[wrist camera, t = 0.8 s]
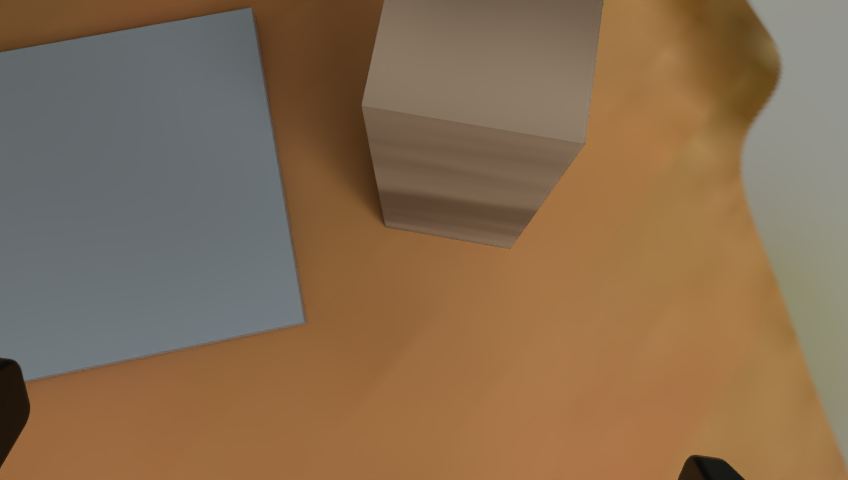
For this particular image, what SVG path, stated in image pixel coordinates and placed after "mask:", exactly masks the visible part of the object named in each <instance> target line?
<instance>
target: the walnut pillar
mask: <svg viewBox="0 0 848 480" xmlns="http://www.w3.org/2000/svg"><path fill="white" fill-rule="evenodd" d="M602 7H603V0H384V3H383V8H382V13H381V17H380V22H379V27H378V31H377V36H376V40H375V45H374V50H373V54H372V59H371V64H370V68H369V73H368V78H367V82H366V87H365V91H364V96H363V101H362V105H361V106H362V111H363V116H364V121H365V126H366V131H367V136H368V141H369V146H370V151H371V157H372V162H373V167H374V172H375V177H376V182H377V187H378V192H379V197H380V202H381V207H382V212H383V217H384V222H385V227H388V228H394V229H400V230H405V231H411V232H417V233H423V234H428V235H434V236H440V237H445V238H451V239H457V240H462V241H468V242H474V243H480V244H485V245H491V246H497V247H502V248H508V249H510V248H511V247H512V246H513V244H514V243H515V241H516V240H517V239H518V237H519V236H520V234H521V233H522V232H523V230H524V229H525V227H526V226H527V225H528V223H529V222H530V220H531V219H532V218H533V216H534V215H535V213H536V212H537V211H538V209H539V208H540V206H541V205H542V204H543V202H544V201H545V199H546V198H547V197H548V195H549V194H550V192H551V191H552V190H553V188H554V187H555V185H556V184H557V183H558V181H559V180H560V178H561V177H562V176H563V174H564V173H565V171H566V170H567V169H568V167H569V166H570V164H571V163H572V162H573V160H574V159H575V157H576V156H577V154H578V153H579V152H580V150H581V149H582V147H583V146H584V145H585V141H586V133H587V125H588V117H589V110H590V102H591V94H592V86H593V78H594V70H595V62H596V54H597V47H598V39H599V31H600V23H601V15H602Z"/></svg>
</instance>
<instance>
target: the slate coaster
mask: <svg viewBox="0 0 848 480" xmlns="http://www.w3.org/2000/svg"><path fill="white" fill-rule="evenodd" d="M303 324H307V319H306V314H305V308H304V302H303V296H302V290H301V284H300V278H299V272H298V266H297V260H296V255H295V249H294V243H293V237H292V231H291V225H290V219H289V213H288V207H287V201H286V196H285V190H284V184H283V178H282V172H281V166H280V160H279V154H278V148H277V142H276V137H275V131H274V125H273V119H272V113H271V107H270V101H269V95H268V89H267V83H266V78H265V72H264V66H263V60H262V54H261V48H260V42H259V36H258V30H257V25H256V19H255V15H254V13H253V11H252V8H245V9H240V10H234V11H229V12H223V13H217V14H212V15H206V16H201V17H195V18H189V19H184V20H178V21H173V22H167V23H161V24H156V25H150V26H145V27H139V28H133V29H128V30H122V31H117V32H111V33H105V34H100V35H94V36H89V37H83V38H78V39H72V40H66V41H61V42H55V43H50V44H44V45H38V46H33V47H27V48H22V49H16V50H10V51H5V52H0V357H1V358H8V359H13V360H15V361H17V363H18V364H19V365H20V367H21V369H22V374H23V378H24V382H25V383H26V382H31V381H35V380H40V379H45V378H50V377H54V376H59V375H64V374H69V373H74V372H78V371H83V370H88V369H93V368H97V367H102V366H107V365H112V364H117V363H121V362H126V361H131V360H136V359H141V358H145V357H150V356H155V355H160V354H164V353H169V352H174V351H179V350H184V349H188V348H193V347H198V346H203V345H207V344H212V343H217V342H222V341H227V340H231V339H236V338H241V337H246V336H250V335H255V334H260V333H265V332H270V331H274V330H279V329H284V328H289V327H293V326H298V325H303Z"/></svg>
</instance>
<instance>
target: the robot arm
mask: <svg viewBox="0 0 848 480" xmlns="http://www.w3.org/2000/svg"><path fill="white" fill-rule="evenodd" d="M29 413H30V402H29V398H28V394H27V390H26V386H25V382H24V378H23V374H22V369H21V367H20V365H19V364H18V363H17V361H15V360H13V359H8V358H1V357H0V468H1V466H2V464H3V463H4V461H5V459H6V457H7V456H8V454H9V452H10V451H11V449H12V447H13V445H14V444H15V442H16V440H17V439H18V437H19V435H20V433H21V432H22V430H23V428H24V427H25V425H26V423H27V420H28V417H29ZM678 480H745V479H744V478H743V477H742V476H741V475H740V474H739V473H738V472H737V471H735V470H734V469H733V468H732V467H731V466H730V465H729V464H728V463H727V462H726V461H724V460H723V459H720V458H715V457H708V456H701V455H692V456H690V457H689V458H688V459H687V460H686V462H685V464H684V466H683V468H682V471H681V473H680V475H679V478H678Z"/></svg>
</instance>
